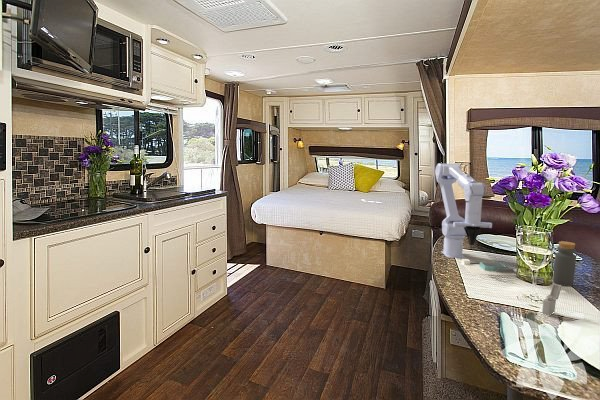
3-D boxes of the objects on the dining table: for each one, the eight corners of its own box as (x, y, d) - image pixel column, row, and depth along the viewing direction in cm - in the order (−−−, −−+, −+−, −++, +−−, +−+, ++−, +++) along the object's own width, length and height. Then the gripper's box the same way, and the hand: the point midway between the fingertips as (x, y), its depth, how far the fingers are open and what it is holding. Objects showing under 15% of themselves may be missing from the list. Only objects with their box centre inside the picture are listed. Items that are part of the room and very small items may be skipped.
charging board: (472, 275, 127) (472, 269, 127) (459, 263, 141) (460, 258, 141) (516, 276, 125) (517, 271, 125) (499, 264, 139) (499, 259, 139)
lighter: (548, 316, 95) (551, 289, 94) (541, 313, 96) (544, 287, 95) (559, 310, 98) (561, 284, 97) (552, 307, 100) (554, 282, 99)
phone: (484, 270, 131) (484, 265, 130) (479, 266, 136) (479, 261, 135) (506, 271, 130) (506, 266, 129) (500, 266, 135) (500, 262, 134)
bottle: (577, 287, 115) (581, 245, 113) (558, 285, 116) (562, 244, 114) (567, 280, 121) (571, 241, 119) (549, 279, 122) (553, 240, 120)
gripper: (458, 213, 131) (456, 246, 133) (496, 214, 130) (494, 247, 131) (452, 210, 138) (450, 242, 140) (488, 211, 137) (486, 242, 138)
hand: (471, 244), depth 136 cm, fingers closed
